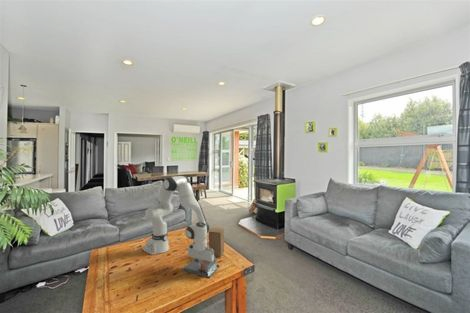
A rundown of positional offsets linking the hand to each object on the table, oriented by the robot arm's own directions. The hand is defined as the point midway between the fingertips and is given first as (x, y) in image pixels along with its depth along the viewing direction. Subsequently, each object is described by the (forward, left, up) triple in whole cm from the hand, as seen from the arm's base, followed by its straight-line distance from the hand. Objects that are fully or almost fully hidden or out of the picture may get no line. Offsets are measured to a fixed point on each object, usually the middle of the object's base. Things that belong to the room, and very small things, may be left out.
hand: (200, 264), depth 146 cm
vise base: (0, 0, -3) cm, 3 cm away
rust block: (+5, 0, -2) cm, 6 cm away
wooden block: (0, +23, -3) cm, 23 cm away
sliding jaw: (+2, 0, -1) cm, 3 cm away
